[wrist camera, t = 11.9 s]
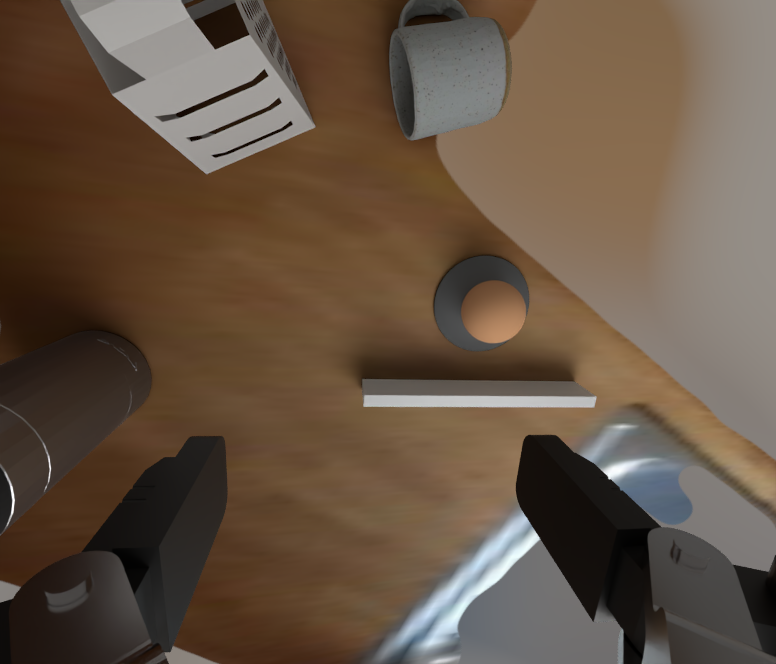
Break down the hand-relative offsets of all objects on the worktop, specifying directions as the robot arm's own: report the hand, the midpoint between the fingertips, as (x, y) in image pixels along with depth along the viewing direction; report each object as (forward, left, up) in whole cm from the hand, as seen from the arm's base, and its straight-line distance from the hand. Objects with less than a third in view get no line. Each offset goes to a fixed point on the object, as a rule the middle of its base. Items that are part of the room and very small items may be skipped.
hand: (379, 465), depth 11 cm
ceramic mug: (+18, +9, -30) cm, 36 cm away
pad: (+8, -10, -30) cm, 33 cm away
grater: (+4, +19, -30) cm, 36 cm away
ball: (+8, -10, -26) cm, 30 cm away
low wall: (+2, -17, -30) cm, 34 cm away
